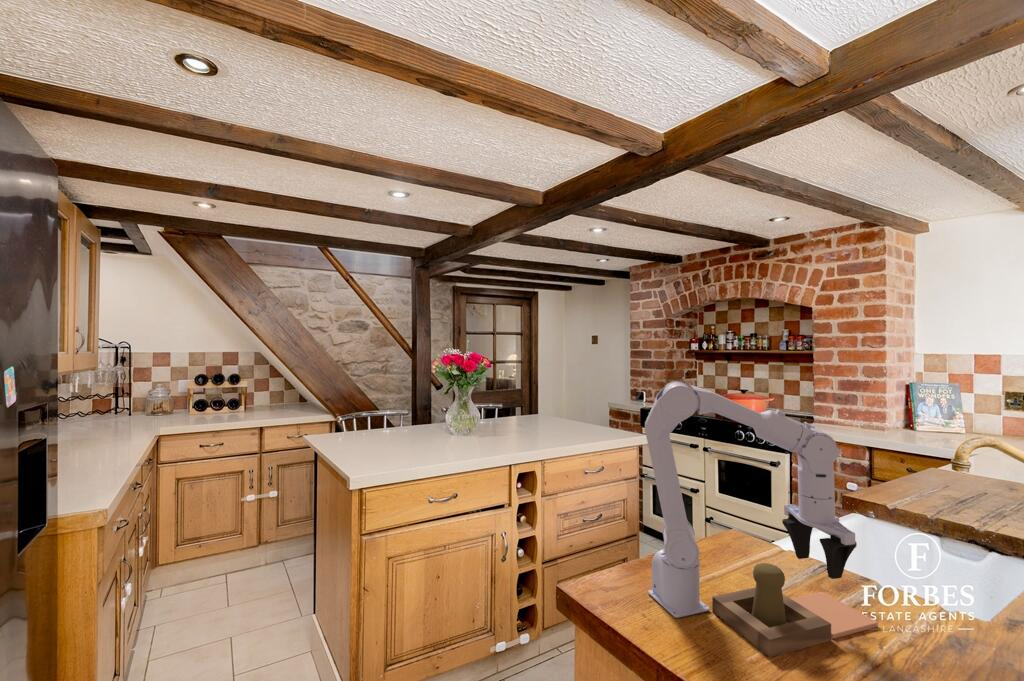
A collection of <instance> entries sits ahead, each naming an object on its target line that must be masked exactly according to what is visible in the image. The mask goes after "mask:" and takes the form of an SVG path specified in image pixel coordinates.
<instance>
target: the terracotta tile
mask: <svg viewBox="0 0 1024 681" xmlns="http://www.w3.org/2000/svg"><path fill="white" fill-rule="evenodd" d="M790 599H792V600H793V601H795V602H797V603H798V604H800V605H802V606H803V607H805V608H806V609H808V610H810V611H811V612H813V613H815V614H816V615H818V616H819V617H821V618H823V619H824V620H826V621H828V622H829V623H831V640H832V639H833V640H834V639H838V638H842V637H845V636H849V635H851V634H855V633H860V632H863V631H864V632H865V631H867V630H871V629H874V628H878V627H879V626H878V625H879V623H878V621H877V620H875V619H872V618H871V617H869V616H867V615H865V614H863V613H862V612H860V611H858V610H857V609H855V608H853V607H851V606H850V605H848V604H845V603H844V602H842V601H840V600H839V599H837V598H835V597H834V596H831V595H830V594H828V593H826V592H824V591H818V592H814V593H809V594H805V595H802V596H796V597H792V598H791V597H790Z"/></svg>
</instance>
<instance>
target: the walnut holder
mask: <svg viewBox="0 0 1024 681" xmlns="http://www.w3.org/2000/svg"><path fill="white" fill-rule="evenodd" d="M755 588H756V586H755V587H753V588H752V587H751V588H747V589H746V588H745V589H743V590H737V591H732V592H728V593H723V594H719V595H714V596H712V598H711V599H712V600H711V601H712V602H711V603H712V613H713V614H714V615H716V616H717V617H718V616H719V617H720V618H719V617H718V618H719V619H721V620H722V619H723V620H724V621H725V622H724V621H723V620H722V621H723V622H724V623H725V624H727V625H728V626H729V625H730V626H729V627H731V628H732V629H733V630H734V631H736V632H737V631H738V632H739V633H738V632H737V633H738V634H740V635H741V636H742V637H743V636H744V637H743V638H745V639H746V640H747V641H748V642H750V643H751V644H753V645H754V646H755V647H756V648H757V649H758V650H759V651H761V652H762V653H763V654H765V655H766V656H767V657H769V658H773V657H776V656H780V655H784V654H788V653H790V652H795V651H798V650H802V649H805V648H810V647H813V646H816V645H821V644H824V643H828V642H832V638H831V623H829V622H828V621H826V620H824V619H823V618H821V617H819V616H818V615H816V614H815V613H813V612H811V611H810V610H808V609H806V608H805V607H803V606H802V605H800V604H798V603H797V602H795V601H793V600H792V599H791V597H789V596H788V595H786V594H784V593H782V595H783V601H784V608H785V615H786V622H787V621H788V622H787V624H783V625H779V626H775V627H771V628H769V627H768V626H766V625H765V624H763V623H762V622H761V621H759V620H758V619H756V618H755V617H754V616H752V608H753V602H754V595H755ZM748 612H751V613H748Z"/></svg>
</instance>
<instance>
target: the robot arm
mask: <svg viewBox="0 0 1024 681" xmlns="http://www.w3.org/2000/svg"><path fill="white" fill-rule="evenodd" d="M690 386H691V387H690ZM690 386H689V384H687V383H685V382H683V381H679V380H678V381H677V380H676V381H675V380H674V381H670V382H669V383H667V384H666V385H664V386H663V388H661V389H660V390H659V392H658V393H657V394H656V396H655V399H654V402H653V404H652V406H651V409H650V411H649V412H648V415H647V418H646V420H645V421H644V432H645V436H646V441H647V447H648V450H649V456H650V460H651V466H652V469H653V475H654V481H655V484H656V488H657V494H658V499H659V504H660V509H661V514H662V519H663V524H664V525H663V527H662V536H663V543H664V547H663V549H660V550H658V551H657V552H656V553H655V554H654V556H653V557H652V560H651V589H648V590H647V593H648V595H650V596H651V597H652V598H653V600H655V601H656V602H657V603H658V604H660V605H661V606H662V607H663V608H664V609H665V610H666V611H667V612H668V613H669V614H670V615H672V616H673V618H677V619H678V618H682V617H683V618H684V617H688V616H691V615H696V614H700V613H704V612H709V611H710V610H711V608H710V607H709V606H708V605H707V604H705V603H704V602H703V601H702V600H701V599H700V597H701V596H700V595H701V594H700V592H701V591H700V558H699V557H700V549H699V545H698V544H697V541H696V536H695V530H694V528H693V526H692V524H691V523H690V521H688V518H687V514H686V508H685V503H684V500H683V494H682V489H681V485H680V479H679V475H678V470H677V464H676V460H675V456H674V450H673V446H672V442H671V437H670V436H671V433H672V432H673V431H674V430H675V428H676V427H677V426H678V425H679V423H682V422H683V421H685V420H687V419H688V418H690V417H691V416H693V415H694V414H695V412H697V414H698V415H699V416H700V415H701V416H702V415H706V414H711V413H715V414H717V415H719V416H722V417H724V418H727V419H730V420H732V421H735V422H737V423H740V424H743V425H745V426H748V427H750V428H752V429H753V430H754V432H755V435H756V437H757V438H759V439H761V440H763V441H766V442H768V443H769V444H772V445H775V446H777V447H779V448H781V449H784V450H785V451H786V450H787V451H789V452H791V453H797V494H798V496H797V497H798V499H797V500H798V505H796V504H793V503H789V504H784V506H783V509H784V510H783V511H784V515H785V516H787V518H784V519H782V524H783V526H784V528H785V529H786V532H788V535H789V537H790V540H791V543H792V547H793V549H794V552H795V555H796V558H797V559H799V560H802V559H803V560H804V559H809V557H810V552H811V538H812V537H811V536H812V531H813V528H814V529H816V530H818V531H820V532H822V533H824V534H826V535H828V536H829V537H824V538H823V537H822V538H819V543H820V544H821V547H822V549H823V553H824V556H825V560H826V573H827V576H828V578H830V579H832V580H835V579H842V577H843V573H844V569H845V567H846V564H847V561H848V559H849V557H850V556H851V553H853V551H855V548H857V541H856V533H855V532H854V531H851V530H850V529H848V528H847V527H846V526H845V525H843V523H842V522H840V517H838V516H836V501H835V500H836V495H835V493H836V491H835V470H834V469H835V468H834V462H835V461H836V460H837V459H838V457H839V455H840V451H841V450H840V449H839V447H838V444H837V443H836V441H835V439H834V438H833V437H832V436H831V435H829V434H828V433H825V432H824V431H822V430H820V429H818V428H816V427H815V426H813V425H812V424H810V423H809V422H806V421H804V422H801V421H797V420H795V419H792V418H790V417H788V416H786V413H785V412H784V411H781V410H779V409H776V410H775V411H774V410H771V409H769V410H768V409H767V410H764V411H762V412H759V411H756V410H754V409H751V408H749V407H747V406H745V405H743V404H740V403H739V402H736V401H734V400H731V399H730V398H728V397H725V396H723V395H720V394H718V393H716V392H714V391H712V390H709V389H705V388H702V387H699V386H695V385H692V384H690Z"/></svg>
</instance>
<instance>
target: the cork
mask: <svg viewBox="0 0 1024 681" xmlns="http://www.w3.org/2000/svg"><path fill="white" fill-rule="evenodd" d="M752 577H753V580H754V581H755V583H756V584H755V587H756V588H755V587H754V588H755V595H754V602H753V608H752V612H751V615H752V616H754V617H755V618H756V619H758V620H759V621H761V622H762V623H763V624H765V625H766V626H768V627H769V628H771V627H775V626H779V625H783V624H787V623H788V622H787V621H786V615H785V608H784V601H783V595H782V594H783V589H782V588H783V587H784V586H785V583H786V577H785V573H784V572H783V570H782V568H780V567H778V566H777V565H775V564H771V563H767V562H760V563H756V565H755V566H754V567H753V571H752Z"/></svg>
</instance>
